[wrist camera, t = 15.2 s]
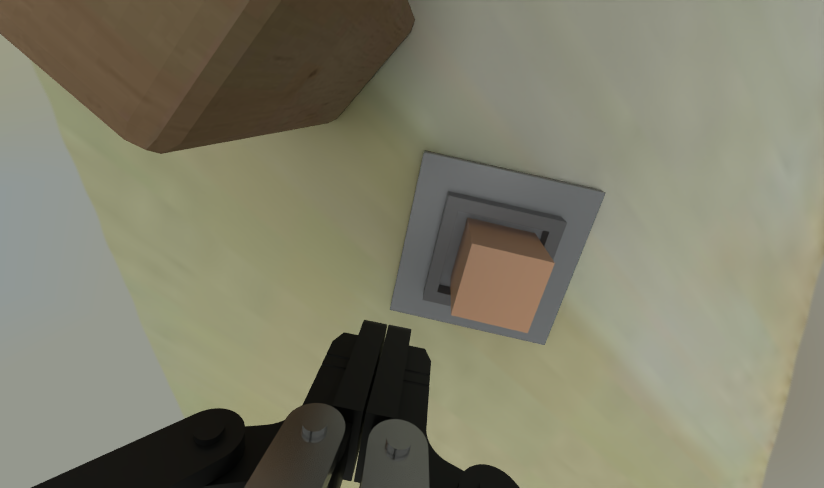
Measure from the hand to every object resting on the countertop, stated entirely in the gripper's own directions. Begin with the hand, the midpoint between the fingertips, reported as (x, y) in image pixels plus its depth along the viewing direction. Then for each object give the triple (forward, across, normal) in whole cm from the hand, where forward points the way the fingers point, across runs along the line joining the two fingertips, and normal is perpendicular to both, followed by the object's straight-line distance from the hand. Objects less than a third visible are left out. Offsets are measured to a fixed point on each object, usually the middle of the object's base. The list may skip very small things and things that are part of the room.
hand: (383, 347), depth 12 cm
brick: (+19, -6, +4) cm, 21 cm away
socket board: (+20, -6, +4) cm, 22 cm away
